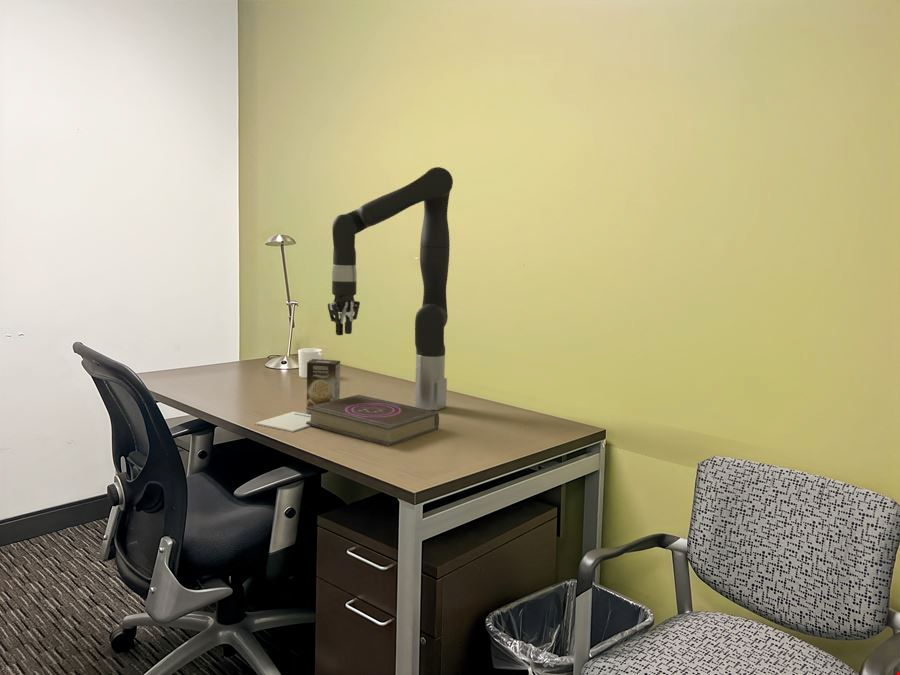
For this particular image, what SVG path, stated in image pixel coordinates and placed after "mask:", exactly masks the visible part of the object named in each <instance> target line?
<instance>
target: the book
mask: <svg viewBox="0 0 900 675" xmlns="http://www.w3.org/2000/svg"><path fill="white" fill-rule="evenodd" d="M305 409H307V410H310V411H311V414H310V415H311V419H310V421H308V422H306V424H308V425H312V426H311V427H316V428H320V429H324V430H327V431H331V432H334V433H338V434H342V435H345V436H348V437H352V438H356V439H360V440H364V441H367V442H371V443H375V444H378V445H383V446H387V447H390V446H393V445H396V444H399V443H401V442H404V441H408V440H411V439H414V438H416V437H420V436H421V435H425V434H427V433H430V432H433V431H436V430H438V429H439V426H440V414H439V412H438V411H436V410H426V409H421V408H417V407H415V406H411V405H408V404H402V403H398V402H393V401H389V400H385V399H380V398H377V397H371V396H366V395H362V394H355V395H351V396H349V397H343V398H340V399H339V400H334V401H330V402H326V403H322V404H318V405H314V406H309V407H307V406H306V408H305Z"/></svg>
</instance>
